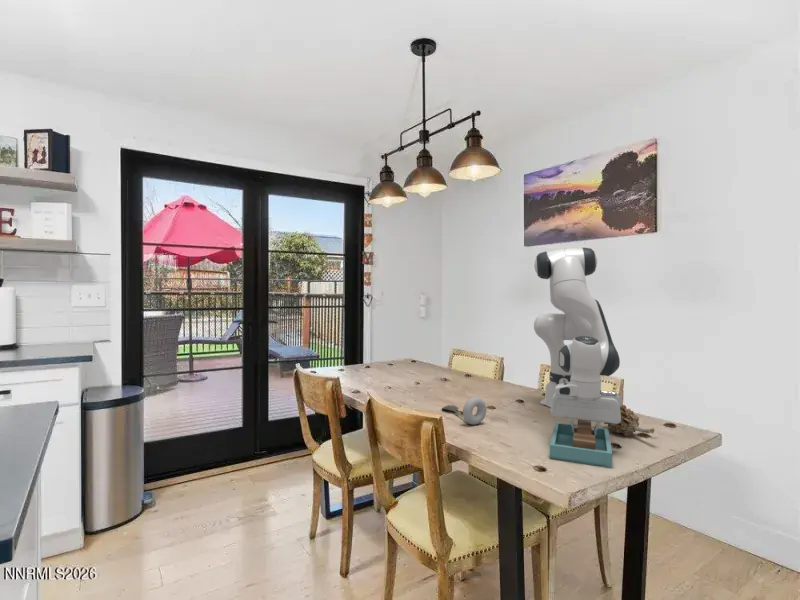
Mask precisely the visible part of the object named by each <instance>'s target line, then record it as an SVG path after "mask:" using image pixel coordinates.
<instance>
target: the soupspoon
mask: <svg viewBox="0 0 800 600" xmlns="http://www.w3.org/2000/svg"><path fill="white" fill-rule="evenodd" d="M441 410H447V411H451V412H454V413H456V414H457V415H459V416H460V417H461V418H462V419H463V420H464V422H465V424H466V425H470V424H469V423H467V422H466V420H465V419H464V416H463V414H461V413H460V412H459V411H458V410H459V407H458V406H456V405H452V404H450V405H449V404H448V405H445V406H443V407H442V408H441Z"/></svg>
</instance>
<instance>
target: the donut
mask: <svg viewBox="0 0 800 600" xmlns="http://www.w3.org/2000/svg"><path fill="white" fill-rule="evenodd" d="M475 408H476V409H477V410H476V413H475V414H473V410H474V409H475ZM487 410H488V409H487V405H486V402H485V401H484V399H482V398H480V397H477V396H473V397H470V398H469V399H468V400H467V401H466V402H465V403H464V405H463V408H462V416H464V419H465V420H466V422H467V423H469V424H468V425H474V426H475V425H479V424H480V423H481V422H482V421H483V420H484V419H485V417H486V414H487ZM464 419H463V420H464ZM465 420H464V421H465ZM466 422H465V423H466Z"/></svg>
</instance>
